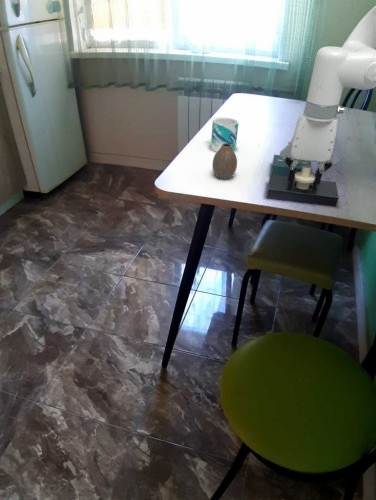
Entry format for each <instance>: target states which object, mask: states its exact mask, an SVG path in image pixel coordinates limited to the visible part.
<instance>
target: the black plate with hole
mask: <svg viewBox="0 0 376 500" xmlns="http://www.w3.org/2000/svg"><path fill="white" fill-rule="evenodd" d="M296 182H297V181H296V180H295V179H294V182H293V185H292V186H290V181H288V177H287V176H278V175H271V174H269V177H268V184H267V194H266V199H269V200H278V201H286V202H293V203H301V204H311V205H312V204H313V205H320V206H326V207H327V206H328V207H337V204H338V202H339V193H338V186H337V182H336V181H329V180H322V179H321V180H320V184H317V187H316V189H315V188H313V183H310V186H309V189H300V188H297V187H296Z"/></svg>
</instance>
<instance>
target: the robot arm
mask: <svg viewBox="0 0 376 500" xmlns="http://www.w3.org/2000/svg"><path fill="white" fill-rule="evenodd" d="M344 88H350V89H355V90H361V91H367V90H372V89H374V88H376V5H374V6H373V7H372V8H371V9H370V10H369V11H368V12H367V13H366V14H365V15H364V16H363V17H362V18H361V19H360V21H359V22H358V23H357V24H356V26H355V27H354V29H353V30H352V31H351V32H350V35H349V36H348V37H347V39H346V40H345V41H344V43H343V45H342V46H333V45H332V46H331V45H330V46H323V47H320V48H319V50H318V51H317V52H316V55H315V59H314V64H313V67H312V72H311V78H310V82H309V87H308V92H307V97H306V101H305V106H304V109H303V112H301V113H299V116H298V118H297V121H296V124H295V128H294V131H293V135H292V139H291V141H290V142H291V143H290V144H288V143H287V145H286V146H285V147H283V148H282V149H281V150H280V151H279V155H280V156H281V157H282V158H283V159H284V160H285V162H286V164H287V165H288V166H289V168H290V172H289V176H288V181H290V186H292V185H293V182H294V177H295V173H296V165H297V163H298V162H299V160H305V161H311V162H313V163H314V162H315V163H316V162H317V163H318V168H317V169H316V171H315V174H314V175H315V181H314V182H313V188H315V189H316V187H317V184H320V180H322V177H323V174H324V173H325V172H326V171H328V170H329V169H331V168H332V166H335V165H337V164H339V162H340V161H341V158H340V156H339V154H338V152H337V150H336V149H335V147H334V146H335V141H336V136H337V129H338V122H339V117H337V116H338V115H340V114H344V111H345V106H341V104H340V102H341V99H342V94H343V91H344ZM289 151H290V152H291V154H290V155H291V157H292V158H293V159H292V160H291V158H290V157H289V156H288V155H287V153H288V152H289Z"/></svg>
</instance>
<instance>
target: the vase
mask: <svg viewBox="0 0 376 500" xmlns="http://www.w3.org/2000/svg"><path fill="white" fill-rule="evenodd" d="M237 168H238V157H237V154H236V153H235V150H234V151H233V149H232V147H231V145H230V144H227V143H225V144H223V145H222V146H221V148H220V149H219V150H218V151H217V152H216V153H215V154H214V156H213V159H212V171H213V173H214V176H215V177H216V178H218V179H219V180H228V179H231V178H232V177H233V176H234V175H235V173H236V171H237Z"/></svg>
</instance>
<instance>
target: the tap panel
mask: <svg viewBox="0 0 376 500" xmlns="http://www.w3.org/2000/svg"><path fill="white" fill-rule="evenodd" d="M303 165H309V166H311V167H312V161H305V160H300V163H299V164H297V165H296V173H297V172H301V170H302V166H303ZM312 170H313V168H312V169H311V172H312ZM289 172H290V168H289V166H288V165H287V164H286V162H285V160H284V159H283V158H282V157H281V156H280V154H274V155H273V159H272V164H271V173H270V175H278V176H287V177H288V176H289Z"/></svg>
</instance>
